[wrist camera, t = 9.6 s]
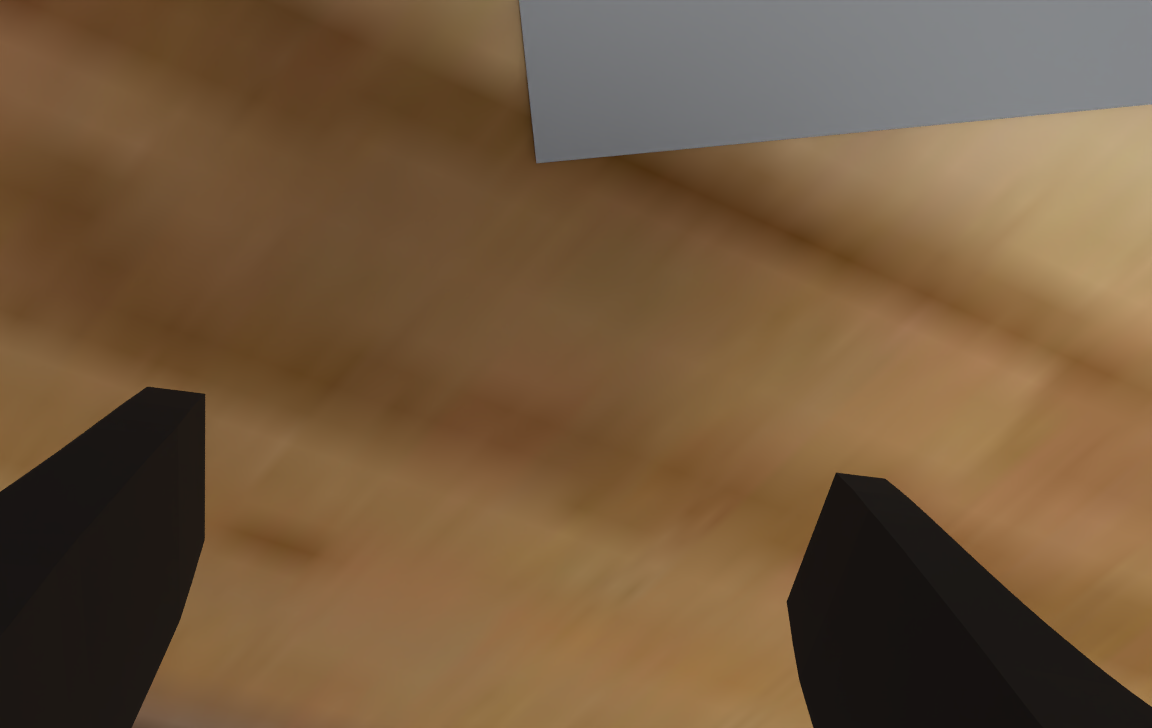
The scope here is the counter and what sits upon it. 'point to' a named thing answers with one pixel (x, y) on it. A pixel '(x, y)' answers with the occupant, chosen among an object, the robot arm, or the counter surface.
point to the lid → (816, 67)
